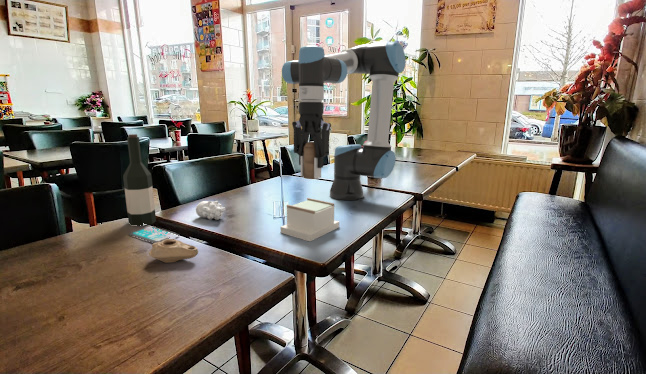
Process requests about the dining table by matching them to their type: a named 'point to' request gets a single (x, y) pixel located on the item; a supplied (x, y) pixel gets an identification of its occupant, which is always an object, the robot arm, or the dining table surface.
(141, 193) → the wine bottle
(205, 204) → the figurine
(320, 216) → the display stand
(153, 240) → the smartphone
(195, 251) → the pottery oil lamp
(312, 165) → the brown domed cylinder
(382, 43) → the robot arm
